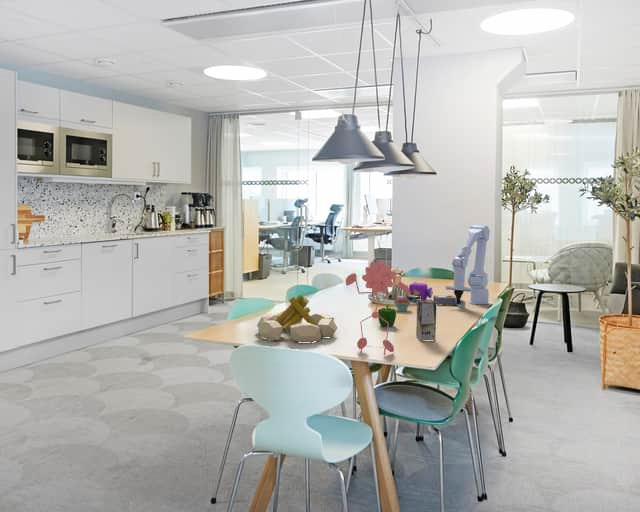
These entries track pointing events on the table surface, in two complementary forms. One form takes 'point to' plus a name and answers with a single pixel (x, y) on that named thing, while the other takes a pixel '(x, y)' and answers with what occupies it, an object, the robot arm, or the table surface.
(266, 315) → the campfire
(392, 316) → the bell pepper
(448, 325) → the table surface
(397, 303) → the cupcake
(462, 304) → the teal bar
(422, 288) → the toy camera
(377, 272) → the figurine
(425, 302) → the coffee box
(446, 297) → the camera case
